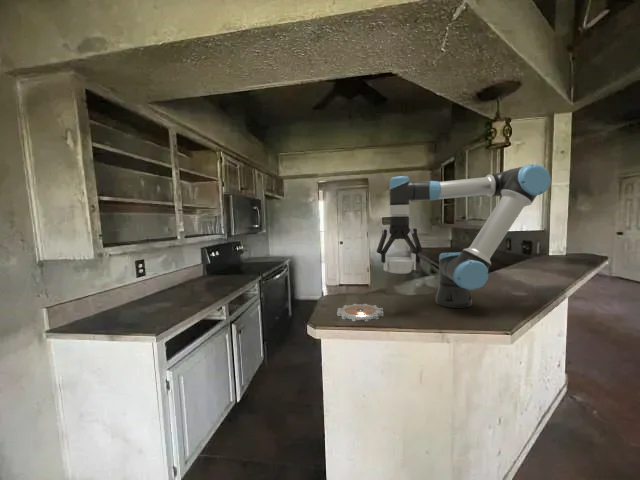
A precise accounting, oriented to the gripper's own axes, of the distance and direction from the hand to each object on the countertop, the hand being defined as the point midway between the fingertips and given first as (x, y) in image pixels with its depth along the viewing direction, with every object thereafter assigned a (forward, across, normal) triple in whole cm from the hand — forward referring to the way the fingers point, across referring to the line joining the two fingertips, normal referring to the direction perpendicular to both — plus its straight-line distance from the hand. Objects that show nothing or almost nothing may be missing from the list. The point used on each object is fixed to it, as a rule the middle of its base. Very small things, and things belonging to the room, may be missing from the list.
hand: (399, 270), depth 128 cm
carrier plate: (+19, +15, -5) cm, 25 cm away
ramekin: (+1, 0, 0) cm, 1 cm away
